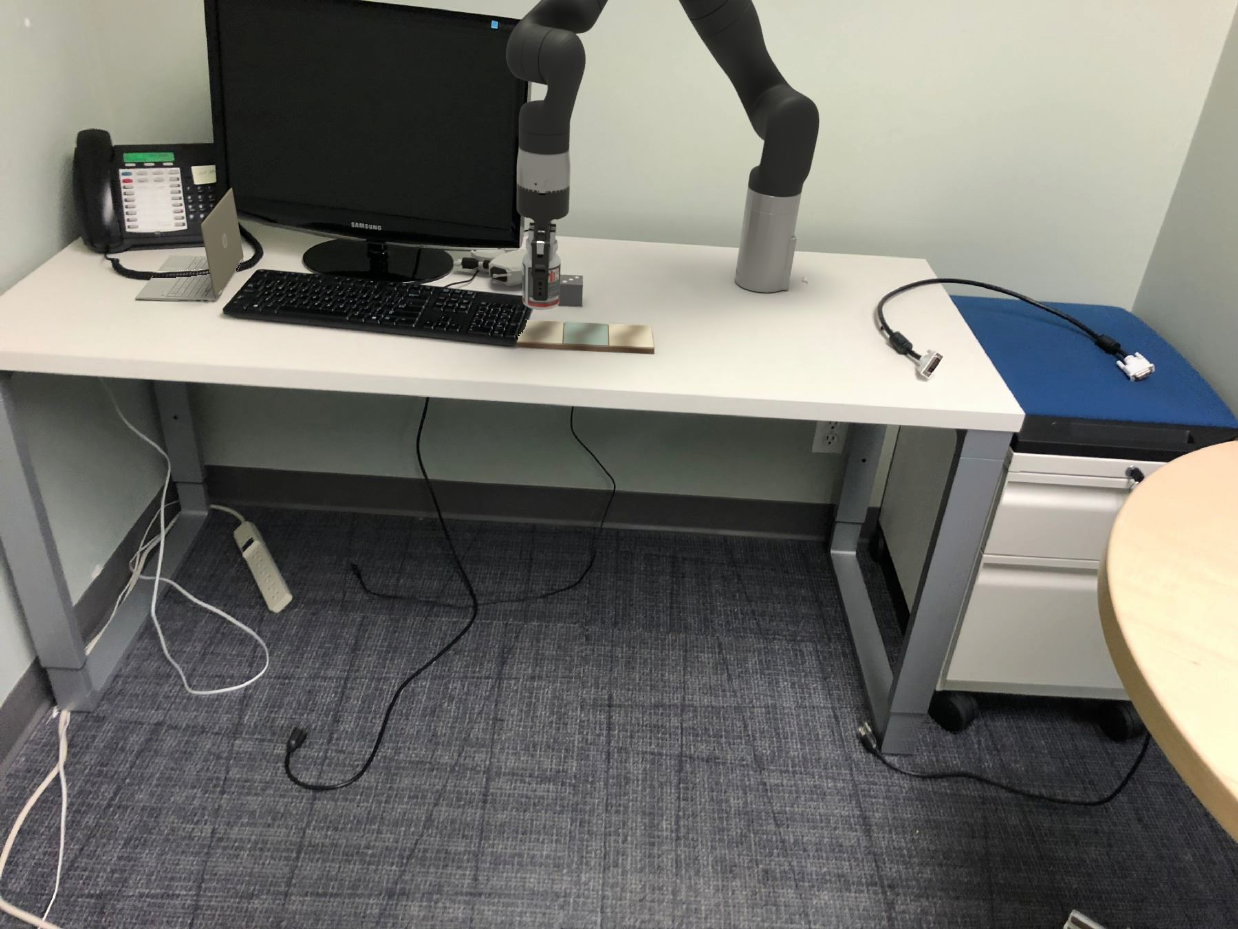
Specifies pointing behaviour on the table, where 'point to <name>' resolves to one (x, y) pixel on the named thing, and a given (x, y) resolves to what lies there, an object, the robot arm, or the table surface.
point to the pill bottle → (552, 281)
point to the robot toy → (496, 264)
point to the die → (571, 290)
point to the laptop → (203, 261)
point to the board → (587, 337)
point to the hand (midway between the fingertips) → (541, 290)
